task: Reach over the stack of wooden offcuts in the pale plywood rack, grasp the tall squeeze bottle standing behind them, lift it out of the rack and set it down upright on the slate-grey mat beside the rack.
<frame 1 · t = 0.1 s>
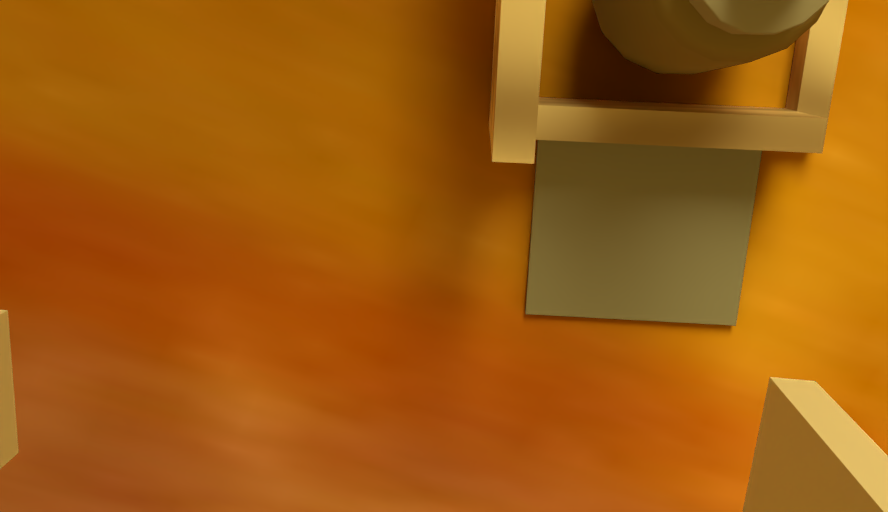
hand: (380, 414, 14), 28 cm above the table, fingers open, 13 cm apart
mat: (638, 229, 41), on the table
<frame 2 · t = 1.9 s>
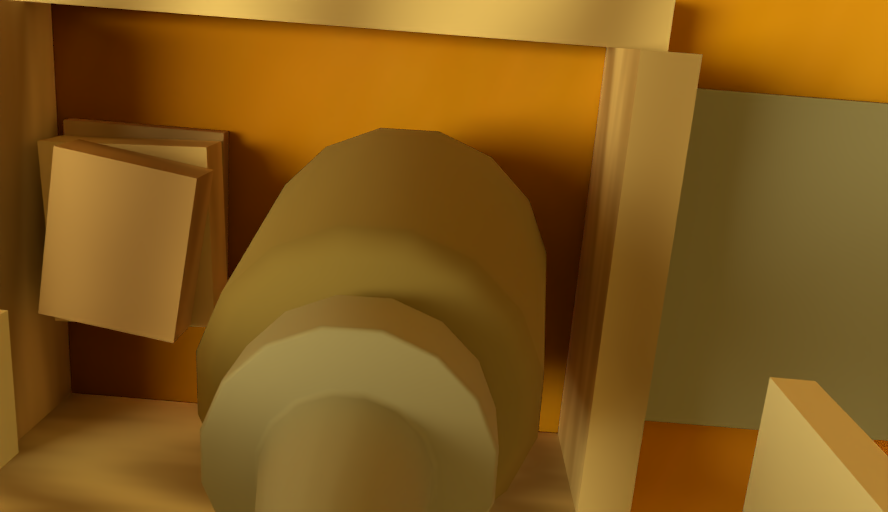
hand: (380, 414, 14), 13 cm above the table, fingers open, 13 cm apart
offcut top: (136, 235, 24), point 2 cm above the table, touching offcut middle
offcut bottom: (162, 211, 27), on the table, touching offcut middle
squeeze bottle: (412, 237, 26), on the table
mat: (780, 269, 26), on the table
rack: (320, 232, 26), on the table
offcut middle: (147, 225, 25), point 1 cm above the table, touching offcut bottom, offcut top
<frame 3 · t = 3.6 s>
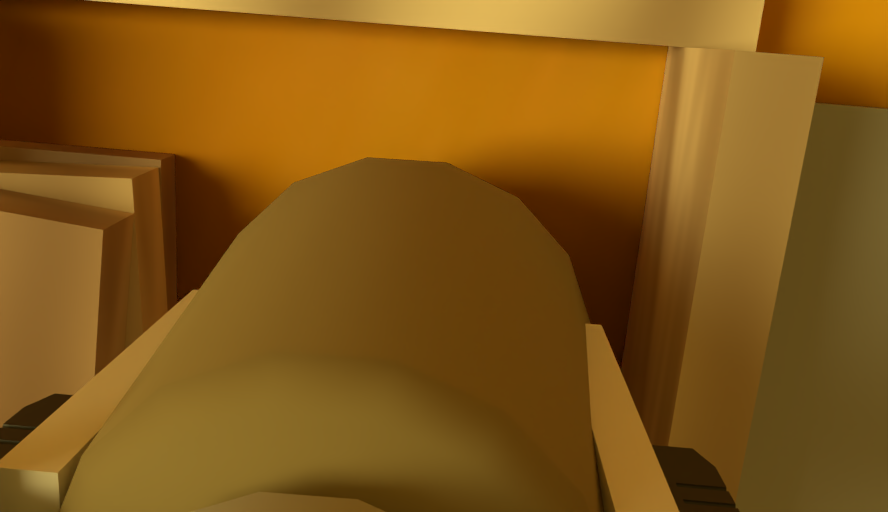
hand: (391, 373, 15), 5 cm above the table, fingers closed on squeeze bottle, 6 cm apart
offcut top: (41, 302, 18), point 2 cm above the table, touching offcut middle
offcut bottom: (91, 255, 21), on the table, touching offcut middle
squeeze bottle: (413, 290, 20), on the table, touching gripper
rack: (295, 282, 20), on the table
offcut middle: (65, 275, 20), point 1 cm above the table, touching offcut bottom, offcut top
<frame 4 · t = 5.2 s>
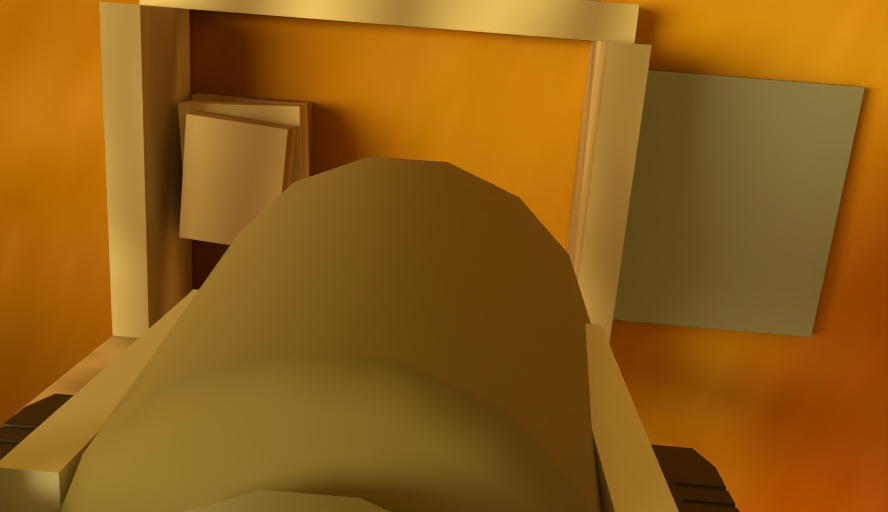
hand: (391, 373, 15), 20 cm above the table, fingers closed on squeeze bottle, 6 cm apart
offcut top: (243, 178, 33), point 2 cm above the table
offcut bottom: (258, 163, 36), on the table, touching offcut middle
squeeze bottle: (413, 290, 20), point 15 cm above the table, touching gripper
mat: (722, 206, 35), on the table
rack: (380, 177, 35), on the table
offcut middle: (251, 167, 35), point 1 cm above the table, touching offcut bottom
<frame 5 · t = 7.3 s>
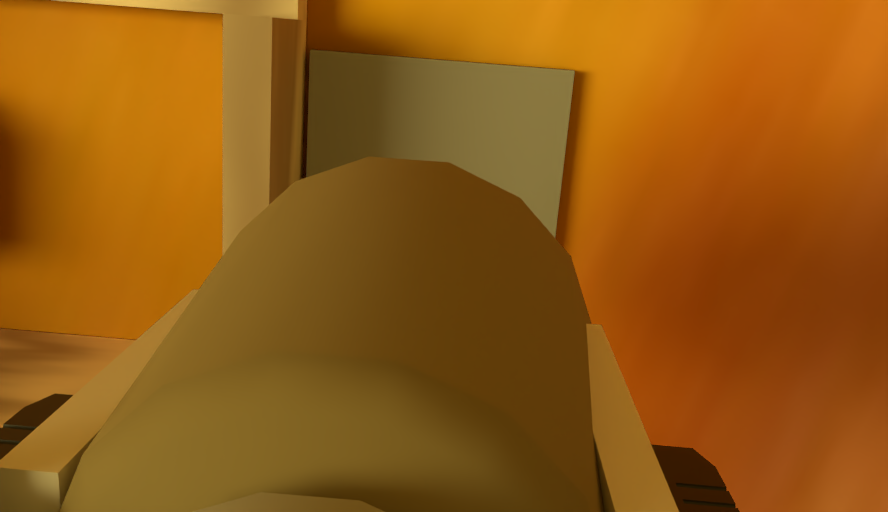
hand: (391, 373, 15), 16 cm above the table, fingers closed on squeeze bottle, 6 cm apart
squeeze bottle: (413, 290, 20), point 10 cm above the table, touching gripper
mat: (431, 207, 30), on the table
rack: (44, 175, 31), on the table
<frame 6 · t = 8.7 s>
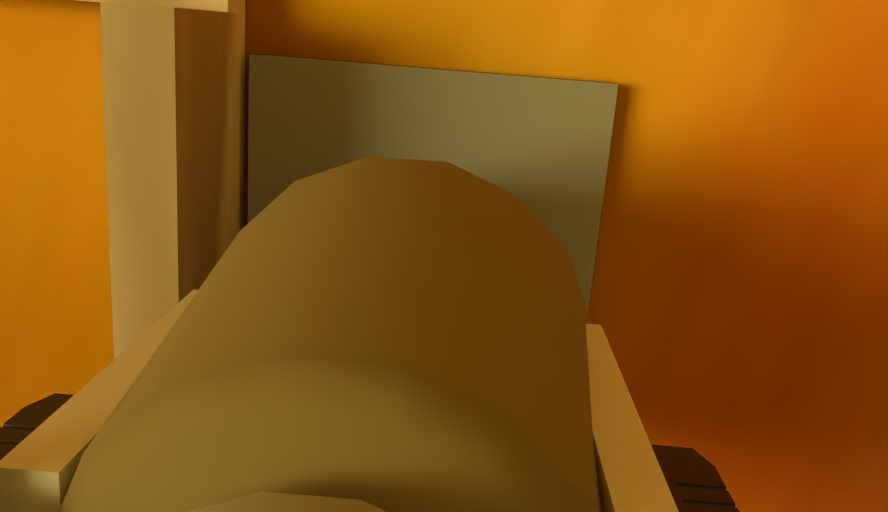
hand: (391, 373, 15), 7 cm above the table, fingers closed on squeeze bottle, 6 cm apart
squeeze bottle: (413, 289, 20), point 2 cm above the table, touching gripper
mat: (419, 268, 22), on the table
when the fingers open (7 cm above the table, at t = 9.5 s): squeeze bottle drops 1 cm, resting on mat.
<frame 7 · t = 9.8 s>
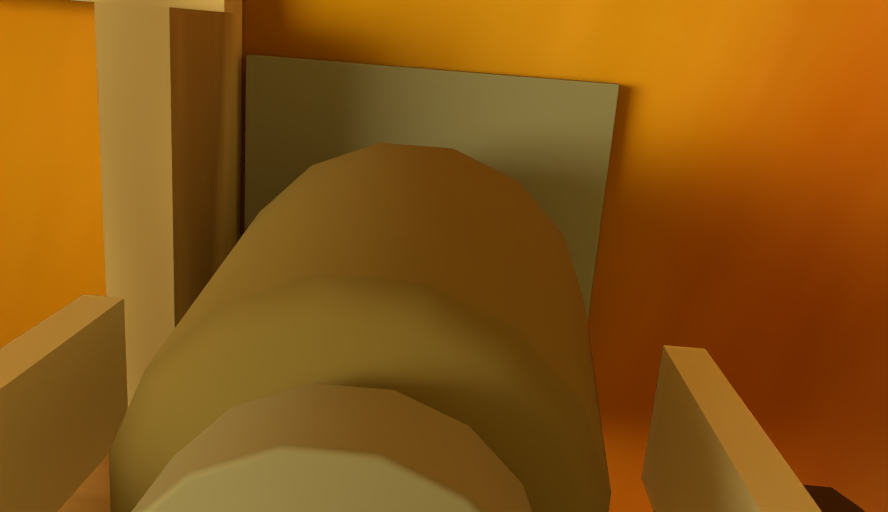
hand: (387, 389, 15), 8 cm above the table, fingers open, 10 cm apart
squeeze bottle: (416, 277, 22), resting on mat
mat: (418, 271, 22), on the table
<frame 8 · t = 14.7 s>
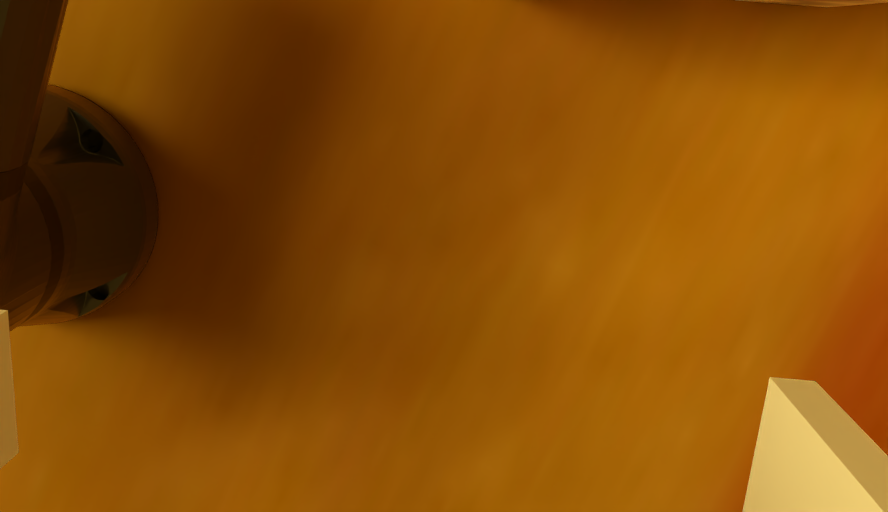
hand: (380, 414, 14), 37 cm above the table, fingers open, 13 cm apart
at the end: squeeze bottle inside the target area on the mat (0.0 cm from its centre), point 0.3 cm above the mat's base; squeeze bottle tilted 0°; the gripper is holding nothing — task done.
